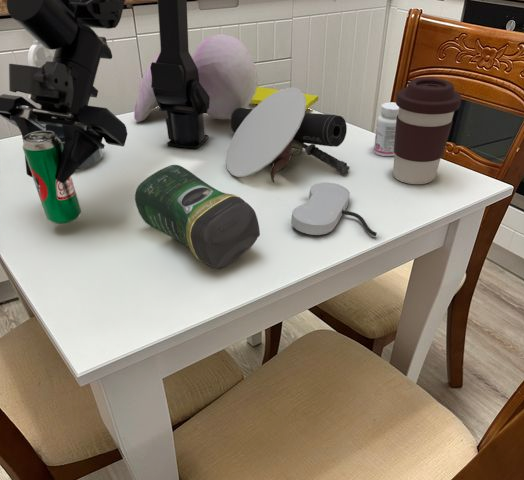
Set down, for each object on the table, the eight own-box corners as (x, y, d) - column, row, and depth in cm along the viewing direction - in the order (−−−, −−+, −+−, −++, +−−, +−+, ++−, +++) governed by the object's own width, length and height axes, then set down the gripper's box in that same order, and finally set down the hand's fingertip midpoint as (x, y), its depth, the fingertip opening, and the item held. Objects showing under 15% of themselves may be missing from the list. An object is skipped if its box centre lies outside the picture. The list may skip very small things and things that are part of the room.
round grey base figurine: (309, 69, 87) (343, 113, 94) (233, 120, 98) (268, 156, 105) (300, 146, 79) (338, 188, 87) (219, 191, 91) (258, 225, 98)
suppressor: (322, 129, 84) (333, 153, 88) (340, 108, 85) (350, 133, 89) (226, 119, 102) (238, 139, 106) (241, 102, 103) (252, 123, 107)
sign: (303, 115, 113) (320, 101, 120) (303, 107, 112) (320, 93, 118) (192, 99, 123) (213, 86, 129) (192, 91, 122) (213, 80, 128)
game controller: (286, 218, 74) (285, 229, 75) (372, 240, 71) (369, 251, 72) (316, 178, 84) (314, 189, 86) (392, 196, 82) (389, 206, 83)
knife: (260, 116, 92) (273, 119, 97) (256, 127, 93) (268, 130, 98) (345, 163, 87) (354, 165, 92) (339, 174, 88) (348, 175, 93)
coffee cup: (409, 193, 85) (427, 96, 75) (373, 172, 91) (385, 80, 81) (455, 181, 88) (478, 86, 78) (416, 161, 94) (434, 71, 84)
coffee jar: (145, 232, 78) (216, 283, 68) (125, 187, 72) (198, 235, 62) (195, 200, 81) (270, 244, 70) (179, 154, 75) (258, 195, 64)
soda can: (72, 227, 75) (47, 144, 66) (41, 224, 75) (12, 142, 67) (87, 210, 78) (65, 130, 70) (57, 208, 79) (32, 128, 71)
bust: (168, 168, 122) (253, 135, 100) (108, 105, 111) (189, 52, 89) (206, 111, 129) (293, 68, 107) (153, 46, 118) (238, -17, 96)
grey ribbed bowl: (115, 152, 100) (108, 122, 96) (81, 177, 91) (73, 146, 88) (62, 146, 103) (54, 117, 99) (24, 170, 94) (14, 140, 90)
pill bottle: (370, 147, 100) (376, 101, 94) (394, 146, 100) (401, 100, 94) (376, 157, 96) (383, 110, 90) (401, 156, 96) (409, 109, 91)
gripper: (-25, 27, 66) (-55, 144, 66) (93, 37, 61) (59, 164, 61) (37, 77, 77) (10, 177, 77) (142, 89, 71) (113, 197, 71)
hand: (45, 179), depth 71 cm, fingers closed on soda can, 5 cm apart
